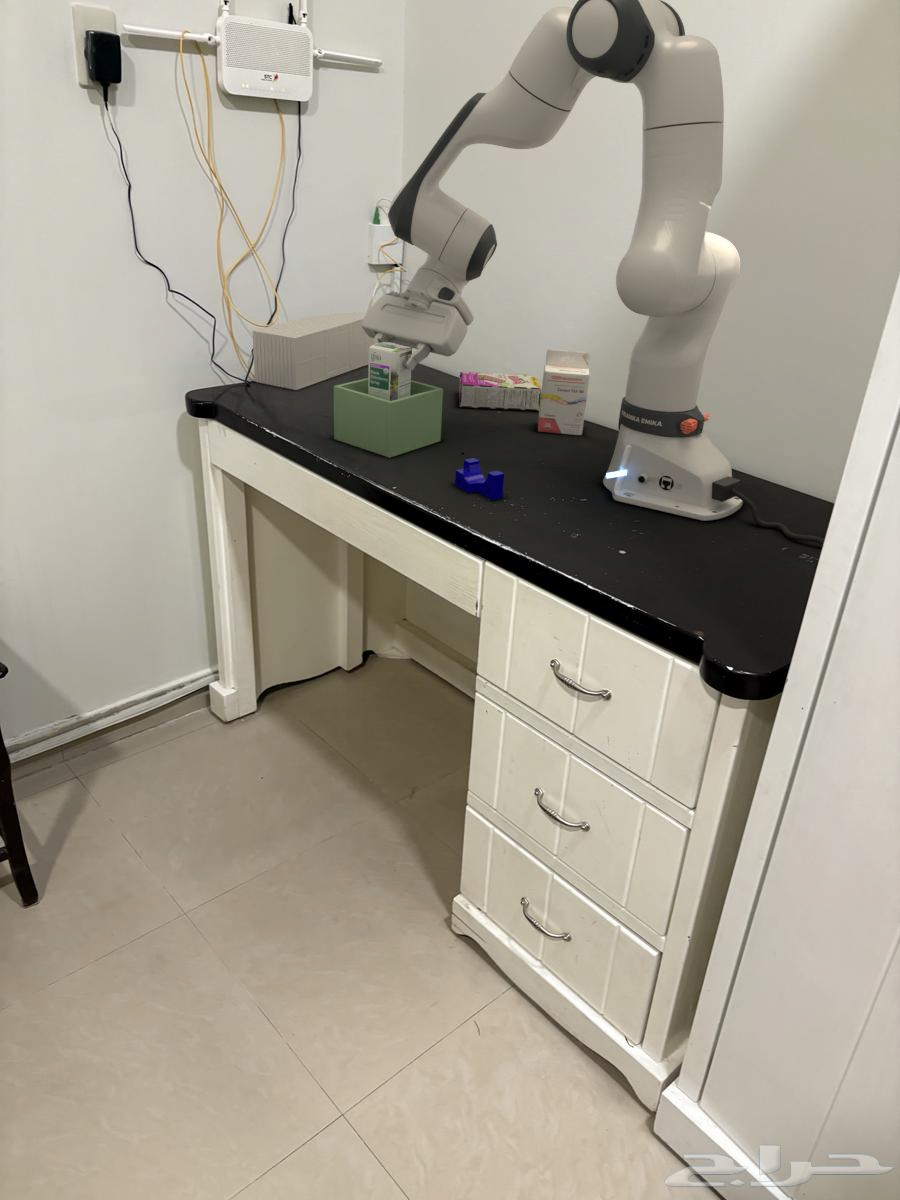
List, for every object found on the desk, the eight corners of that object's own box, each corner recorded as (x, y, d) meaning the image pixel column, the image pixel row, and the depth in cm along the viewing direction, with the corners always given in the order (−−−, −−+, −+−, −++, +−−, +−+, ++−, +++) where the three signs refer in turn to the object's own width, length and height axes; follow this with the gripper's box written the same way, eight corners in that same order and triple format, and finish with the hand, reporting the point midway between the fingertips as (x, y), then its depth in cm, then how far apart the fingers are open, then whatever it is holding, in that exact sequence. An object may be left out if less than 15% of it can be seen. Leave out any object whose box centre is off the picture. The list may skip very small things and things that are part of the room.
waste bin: (440, 441, 169) (443, 388, 164) (389, 457, 159) (390, 402, 155) (385, 423, 176) (386, 373, 172) (333, 439, 167) (333, 385, 162)
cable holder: (454, 484, 149) (456, 461, 147) (472, 481, 151) (474, 458, 149) (484, 501, 144) (485, 477, 142) (502, 497, 145) (504, 473, 144)
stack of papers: (294, 338, 188) (252, 330, 192) (296, 390, 193) (254, 381, 197) (378, 314, 214) (338, 308, 218) (377, 361, 219) (339, 354, 223)
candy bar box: (459, 369, 195) (537, 374, 196) (458, 393, 198) (534, 397, 198) (460, 383, 185) (542, 388, 186) (459, 408, 188) (540, 412, 188)
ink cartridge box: (537, 432, 176) (544, 354, 169) (537, 424, 180) (545, 348, 174) (582, 436, 176) (592, 357, 169) (581, 428, 180) (591, 351, 173)
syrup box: (365, 428, 165) (367, 346, 158) (383, 420, 170) (385, 340, 163) (393, 434, 163) (396, 351, 156) (410, 426, 168) (413, 345, 161)
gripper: (378, 278, 167) (339, 341, 165) (467, 296, 156) (426, 363, 153) (394, 301, 172) (356, 362, 170) (481, 320, 161) (442, 385, 159)
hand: (390, 363), depth 161 cm, fingers closed on syrup box, 6 cm apart
